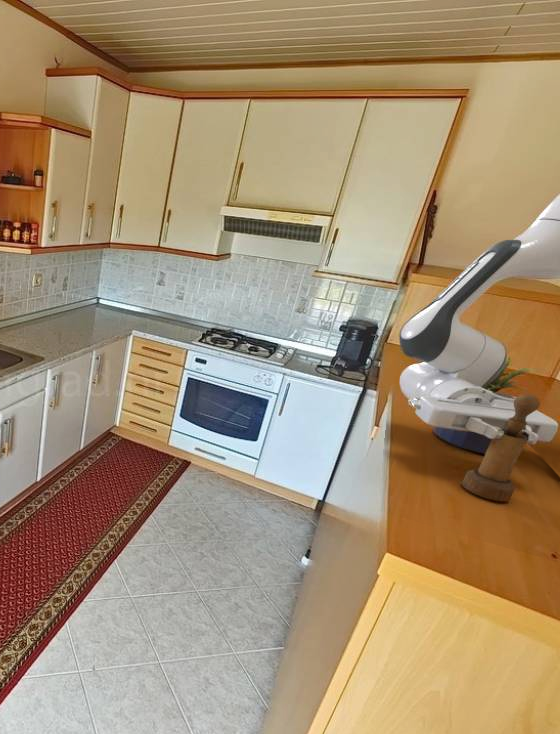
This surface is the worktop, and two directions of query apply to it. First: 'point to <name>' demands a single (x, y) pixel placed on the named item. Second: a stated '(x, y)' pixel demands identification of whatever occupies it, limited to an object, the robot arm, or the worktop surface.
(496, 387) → the house plant
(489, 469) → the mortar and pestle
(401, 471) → the worktop surface
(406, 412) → the worktop surface
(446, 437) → the bowl
